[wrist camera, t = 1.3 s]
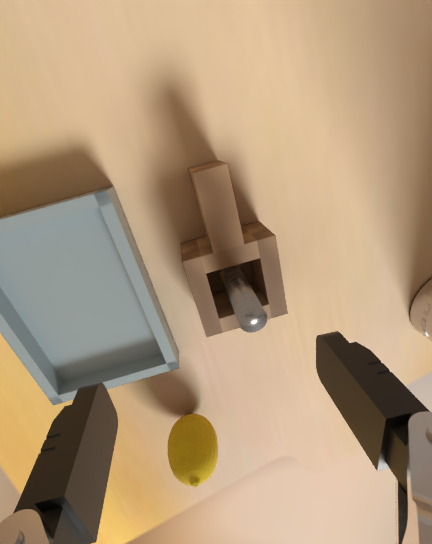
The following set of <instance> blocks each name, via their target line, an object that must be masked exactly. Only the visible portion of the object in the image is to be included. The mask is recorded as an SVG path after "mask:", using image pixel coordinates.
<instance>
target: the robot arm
mask: <svg viewBox="0 0 432 544" xmlns="http://www.w3.org/2000/svg"><path fill="white" fill-rule="evenodd" d="M410 318H411V322H412V325H413V326H414V327H415V329H416V330H418V331H419V332H420V333H422V334H423V335H424V336H426V337H427V338H428V339H430V340H431V341H432V279H431V280H429V281H428V282H427V283H426V284H425V285H424V286H423V287H422V289H421V290H420V291H419V292H418V294H417V296H416V297H415V299H414V301H413V304H412V307H411V312H410ZM316 368H317V373H318V376H319V378H320V381H321V383H322V384H323V386H324V387H325V389H326V391H327V392H328V394H329V395H330V397H331V398H332V400H333V402H334V403H335V405H336V406H337V408H338V410H339V411H340V413H341V414H342V416H343V418H344V419H345V421H346V422H347V424H348V425H349V427H350V429H351V430H352V432H353V433H354V435H355V437H356V438H357V440H358V441H359V443H360V444H361V446H362V448H363V449H364V451H365V452H366V454H367V456H368V457H369V459H370V460H371V462H372V463H373V465H374V466H375V468H376V470H377V471H380V470H383V469H388V468H390V469H391V471H392V472H393V474H394V475H395V477H396V544H432V412H430V411H429V410H428V409H427V408H426V407H425V406H424V405H423V404H422V403H421V402H420V401H419V400H418V399H417V398H416V397H415V396H414V395H413V394H412V393H411V392H410V391H409V390H408V389H407V388H406V387H405V386H404V385H403V384H402V382H401V381H400V380H399V379H398V378H397V377H396V376H395V375H394V374H393V373H392V372H390V371H389V369H388V368H387V367H386V366H385V365H384V364H383V363H381V361H380V360H379V359H378V358H377V357H376V356H375V355H374V354H373V353H372V351H371V350H369V349H367V348H366V347H364V346H362V345H360V344H359V343H357V342H353V343H349V342H348V341H347V340H346V339H345V338H344V337H343V335H342V334H341V333H339V332H338V331H336V332H332V333H327V334H322V335H318V336H317V338H316ZM117 429H118V418H117V413H116V410H115V407H114V405H113V403H112V401H111V398H110V396H109V394H108V392H107V389H106V387H105V385H104V384H103V383H97V384H93V385H88V386H84V387H80V388H79V389H78V390H77V393H76V395H75V398H74V400H73V403H72V405H69V406H65V407H64V408H63V409H62V411H61V412H60V413H59V414H58V416H57V417H56V418H55V419H54V421H53V422H52V425H51V427H50V430H49V432H48V434H47V439H46V440H45V441H44V444H43V446H42V448H41V453H40V454H39V455H38V458H37V460H36V462H35V465H34V467H33V469H32V472H31V474H30V476H29V479H28V481H27V483H26V486H25V488H24V490H23V493H22V495H21V497H20V500H19V502H18V504H17V507H16V509H15V511H14V513H13V514H12V515H10V516H8V517H7V518H6V519H4V520H3V521H2V522H1V523H0V544H91V543H94V542H96V540H97V534H98V529H99V524H100V519H101V513H102V508H103V503H104V497H105V492H106V487H107V482H108V476H109V471H110V466H111V461H112V455H113V450H114V445H115V440H116V434H117Z"/></svg>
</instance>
